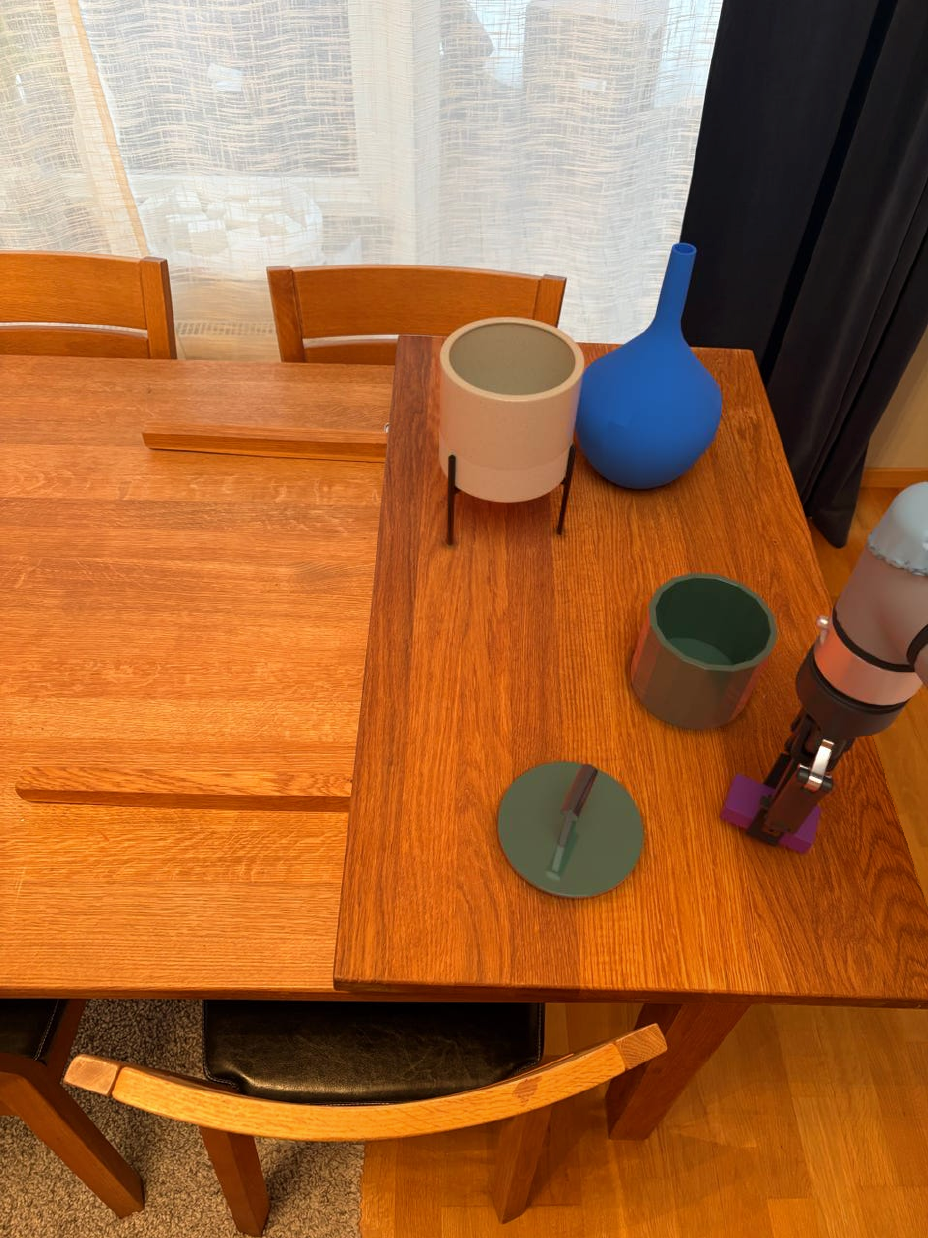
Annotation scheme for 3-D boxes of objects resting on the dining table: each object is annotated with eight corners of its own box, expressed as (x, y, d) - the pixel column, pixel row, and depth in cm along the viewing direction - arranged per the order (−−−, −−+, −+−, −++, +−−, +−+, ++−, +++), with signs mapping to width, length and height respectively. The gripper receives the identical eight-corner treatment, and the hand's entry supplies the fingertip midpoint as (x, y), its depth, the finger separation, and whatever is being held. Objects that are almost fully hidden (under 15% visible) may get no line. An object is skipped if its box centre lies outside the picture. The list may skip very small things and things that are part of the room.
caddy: (758, 661, 94) (789, 599, 86) (729, 748, 87) (759, 689, 79) (651, 621, 97) (671, 557, 89) (614, 701, 90) (632, 640, 82)
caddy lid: (660, 802, 83) (679, 757, 76) (611, 928, 75) (629, 890, 68) (531, 746, 86) (539, 699, 80) (472, 860, 78) (476, 818, 72)
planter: (543, 466, 114) (564, 308, 96) (572, 552, 104) (601, 394, 86) (430, 476, 112) (429, 316, 94) (448, 565, 102) (451, 405, 84)
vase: (544, 434, 118) (572, 218, 95) (664, 412, 122) (718, 200, 99) (597, 524, 107) (643, 305, 84) (727, 496, 111) (804, 280, 88)
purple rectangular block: (813, 819, 80) (822, 807, 78) (804, 854, 78) (813, 844, 76) (730, 784, 82) (736, 772, 81) (719, 818, 80) (725, 807, 78)
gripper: (833, 573, 68) (750, 732, 86) (785, 735, 58) (702, 877, 76) (931, 606, 66) (825, 762, 84) (899, 780, 56) (787, 915, 74)
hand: (767, 816), depth 80 cm, fingers closed on purple rectangular block, 4 cm apart
